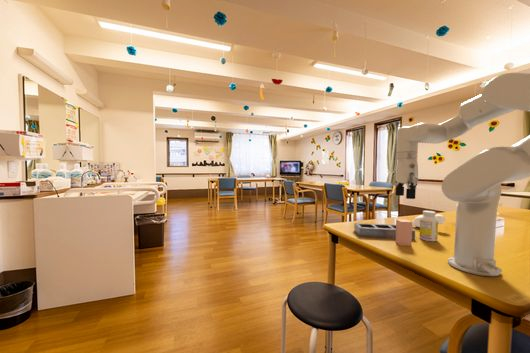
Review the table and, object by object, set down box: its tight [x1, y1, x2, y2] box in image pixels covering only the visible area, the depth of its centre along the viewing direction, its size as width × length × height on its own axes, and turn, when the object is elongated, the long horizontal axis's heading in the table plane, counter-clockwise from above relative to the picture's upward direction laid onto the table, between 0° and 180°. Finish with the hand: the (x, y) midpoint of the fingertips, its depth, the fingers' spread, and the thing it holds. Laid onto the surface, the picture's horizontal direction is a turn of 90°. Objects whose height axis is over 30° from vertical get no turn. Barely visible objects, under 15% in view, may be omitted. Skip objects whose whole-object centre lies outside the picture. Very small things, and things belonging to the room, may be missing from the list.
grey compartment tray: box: [353, 222, 416, 240], centre depth 108 cm, size 10×24×4 cm, turn 82°
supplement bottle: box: [419, 210, 439, 242], centre depth 102 cm, size 7×7×13 cm
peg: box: [395, 218, 413, 247], centre depth 96 cm, size 4×4×10 cm
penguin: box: [411, 213, 446, 228], centre depth 119 cm, size 8×8×15 cm
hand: (404, 197), depth 95 cm, fingers open, 9 cm apart
